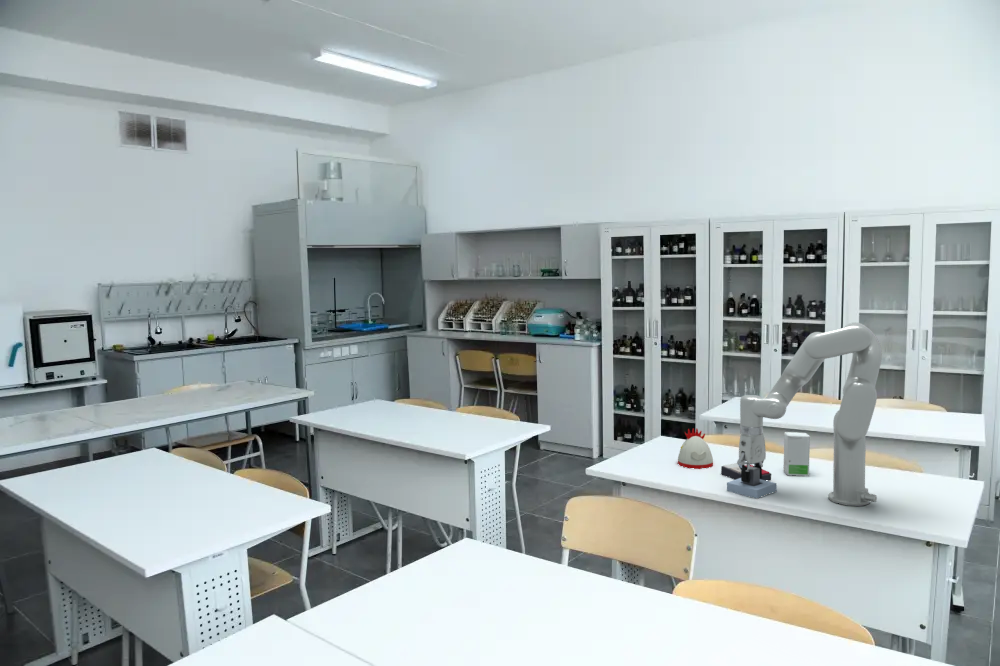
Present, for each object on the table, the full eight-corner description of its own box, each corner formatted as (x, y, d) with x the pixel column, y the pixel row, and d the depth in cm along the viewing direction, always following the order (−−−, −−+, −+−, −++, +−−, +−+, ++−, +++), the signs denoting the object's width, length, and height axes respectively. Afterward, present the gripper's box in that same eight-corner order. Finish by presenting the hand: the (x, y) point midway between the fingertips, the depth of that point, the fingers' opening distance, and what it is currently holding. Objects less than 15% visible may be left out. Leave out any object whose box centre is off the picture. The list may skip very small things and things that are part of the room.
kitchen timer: (674, 460, 286) (674, 425, 285) (707, 459, 286) (707, 424, 285) (682, 469, 272) (681, 432, 271) (717, 468, 272) (716, 431, 271)
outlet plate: (776, 491, 242) (776, 483, 241) (756, 498, 234) (756, 490, 234) (746, 483, 251) (746, 475, 251) (726, 490, 244) (726, 482, 244)
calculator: (749, 476, 250) (720, 464, 264) (748, 487, 250) (720, 474, 264) (772, 471, 254) (742, 460, 268) (771, 482, 255) (742, 470, 268)
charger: (759, 490, 242) (759, 467, 242) (753, 492, 240) (753, 469, 239) (749, 487, 246) (749, 465, 245) (743, 490, 243) (743, 467, 242)
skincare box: (786, 475, 259) (786, 435, 258) (782, 471, 266) (782, 431, 265) (810, 476, 258) (810, 435, 257) (805, 471, 264) (805, 431, 263)
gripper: (746, 436, 233) (746, 487, 234) (775, 428, 243) (775, 477, 245) (727, 432, 239) (727, 482, 240) (756, 424, 249) (756, 472, 251)
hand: (751, 479), depth 242 cm, fingers open, 6 cm apart
